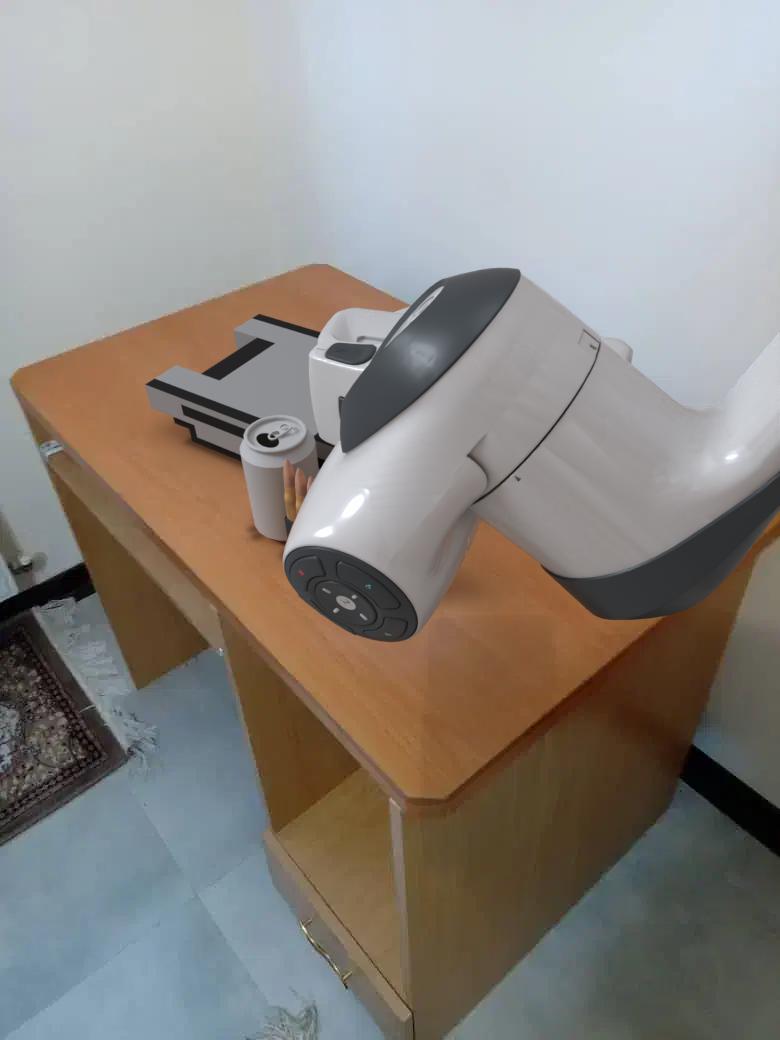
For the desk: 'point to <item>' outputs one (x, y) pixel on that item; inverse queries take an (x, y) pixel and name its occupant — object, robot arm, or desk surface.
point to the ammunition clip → (294, 492)
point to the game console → (244, 387)
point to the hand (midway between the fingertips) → (496, 313)
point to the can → (275, 467)
